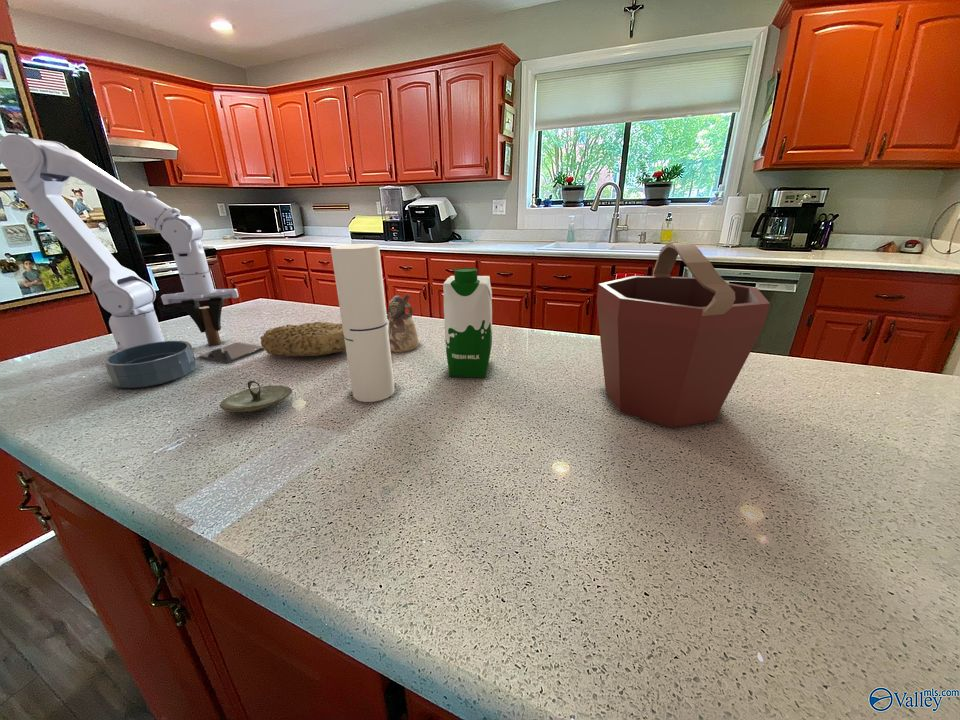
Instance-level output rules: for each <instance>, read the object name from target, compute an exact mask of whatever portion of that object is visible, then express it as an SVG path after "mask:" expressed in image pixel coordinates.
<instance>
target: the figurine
mask: <svg viewBox="0 0 960 720" xmlns="http://www.w3.org/2000/svg"><path fill="white" fill-rule="evenodd" d="M410 298H411V295H409V294H407V293H406V294H405V295H404V296H403V297H402V296H400V295H394V296H393V297H392V298H391V299H390V300H389V301H388V307H387V308H388V309H387V310H386V315H387V322H388V333H389V343H390V352H394V353H395V352H396V353H404V352H409V351H413V350H415V349H416V348H417V347H418V345H419V336H418V331H417V327H416V324H415V322H414V319H413V313H414V312H413V307H412V305H411V304H410V303H409V302H408V301H409V300H410ZM406 309H408V312H406Z"/></svg>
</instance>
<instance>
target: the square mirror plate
mask: <svg viewBox="0 0 960 720" xmlns="http://www.w3.org/2000/svg"><path fill="white" fill-rule="evenodd" d="M260 351H264V348H263V347H262V346H260V345H259V346H258V345H254V344H253V345H252V344H247V343H240V342H234V343H232V344H229V345H226V346H223V347H220V348H217V349H214V350H212V351H208V352H206V353H203V354H200V355H199V358H200V359H203V360H204V359H205V360H211V361H216V362H220V363H226V364H230V363H232V362H235V361H238V360H240V359H243V358H245V357H247V356H250V355H253V354H256V353H258V352H260Z"/></svg>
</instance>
